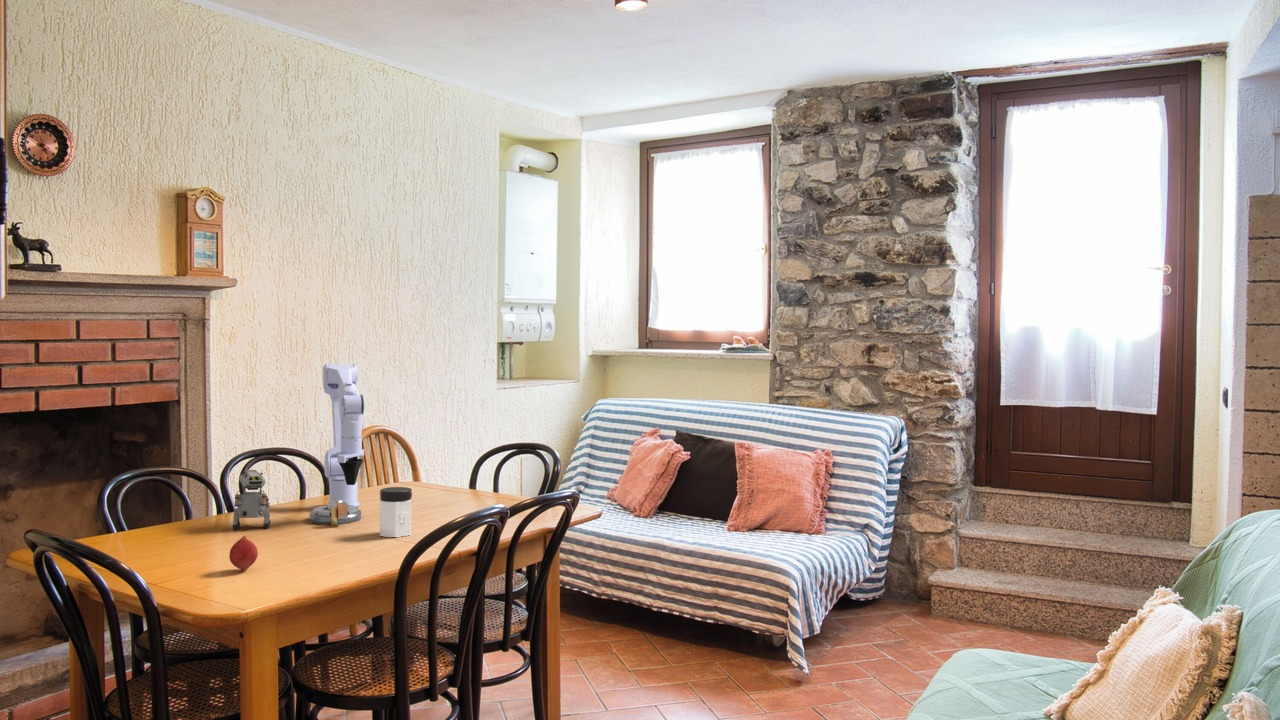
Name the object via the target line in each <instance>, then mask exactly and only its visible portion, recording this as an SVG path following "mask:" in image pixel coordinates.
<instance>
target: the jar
mask: <svg viewBox="0 0 1280 720" xmlns="http://www.w3.org/2000/svg"><path fill="white" fill-rule="evenodd" d="M412 497H413V490H412V488H410V487H406V486H390V487H385V488H381V489H380V491H379V500H380V501H379V503H380V504H379V509H380V510H379V513H380V514H379V537H381V536H383V537H382V538H391V537H398V538H402V537H401V536H404V537H409V536H408V535H410V536H411V535H412V500H413V499H412Z"/></svg>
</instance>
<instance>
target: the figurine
mask: <svg viewBox="0 0 1280 720" xmlns="http://www.w3.org/2000/svg"><path fill="white" fill-rule="evenodd" d="M263 474H264V473H263V472H258V470H256V469H246V470H244V471H242V472H241V475H239V476H238V479H239V482H240V483H241V485H242V489H243V491H241V490H237V492H236V494H235V495H234V507H236V508H234V510H233V517H232V518H233V522H232V523H233V524H232V530H234V531H237V530H238V529H239V528H240V526H241V521H240V519H254V518H255V519H256V518H257V519H258V518H263V527H262V528H263V529H269V527H270V525H271V520H270V508H271V507H270V504H271V503H270V501H269V500H270V498H269V496H268V495H267V493H265V491H264V490H263V487H264V486H265V485H266V482H267V481H266V479H265V478H264V477H263ZM246 489H247V491H246ZM258 490H259V491H258ZM239 492H240V493H239Z"/></svg>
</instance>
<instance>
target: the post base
mask: <svg viewBox="0 0 1280 720" xmlns="http://www.w3.org/2000/svg"><path fill="white" fill-rule="evenodd" d="M327 501H328V503H327V505H328V510H330V511H331V508H336V503H339V502H343V500H342V499H331V500H330V499H328V500H327ZM360 519H361V520H362V510H361V509H359V508H358V512H356V513H353V514H350V515H348V514H347V519H338V518H337V525H346V523H347V524H352V523H351V522H353V523H356V522H355V521H357V522H359V521H361V520H360ZM358 520H359V521H358ZM308 521H309V522H310V523H311V522H312V523H311V524H314V523H317V524H316V525H322V524H331V516H321V515H315V514H314V513H313V510H311V512H309V520H308Z"/></svg>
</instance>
